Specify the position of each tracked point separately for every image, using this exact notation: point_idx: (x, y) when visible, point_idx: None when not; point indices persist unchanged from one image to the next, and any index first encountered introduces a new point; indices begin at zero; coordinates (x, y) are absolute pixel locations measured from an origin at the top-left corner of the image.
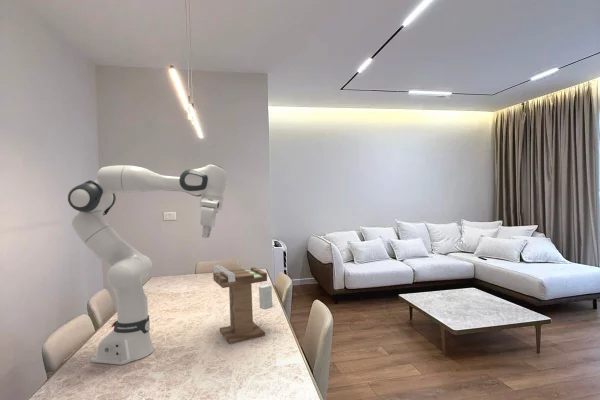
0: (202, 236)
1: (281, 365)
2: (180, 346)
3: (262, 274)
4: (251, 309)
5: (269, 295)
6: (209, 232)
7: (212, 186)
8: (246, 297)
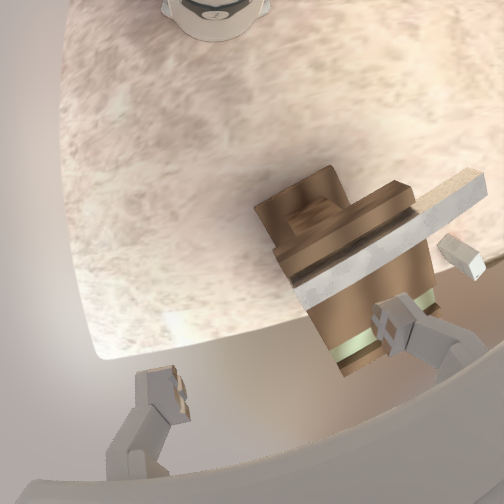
0: (136, 377)
1: (163, 320)
2: (248, 92)
3: (342, 365)
4: None
5: (459, 266)
6: (413, 351)
7: None
8: None
